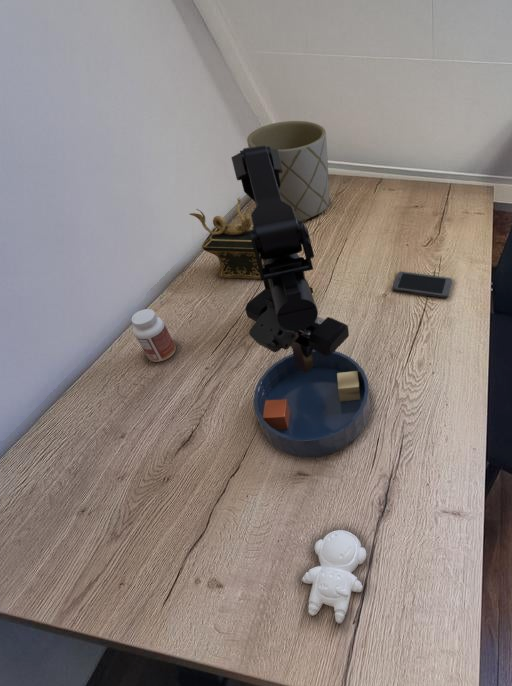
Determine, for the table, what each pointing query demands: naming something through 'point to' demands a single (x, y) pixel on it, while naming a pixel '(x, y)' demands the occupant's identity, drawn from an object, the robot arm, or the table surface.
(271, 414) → the terracotta block
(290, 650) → the table surface
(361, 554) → the astronaut figurine
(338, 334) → the robot arm
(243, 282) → the table surface
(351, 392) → the maple block
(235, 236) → the decorative box
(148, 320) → the pill bottle
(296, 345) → the dark brown wooden bar
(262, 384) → the bowl
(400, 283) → the cell phone
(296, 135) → the planter
